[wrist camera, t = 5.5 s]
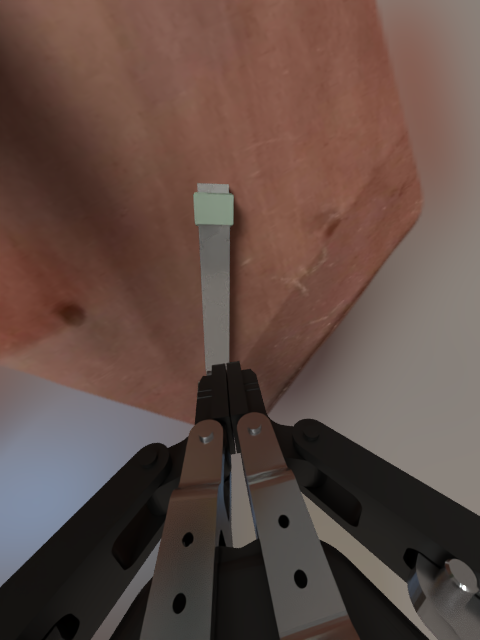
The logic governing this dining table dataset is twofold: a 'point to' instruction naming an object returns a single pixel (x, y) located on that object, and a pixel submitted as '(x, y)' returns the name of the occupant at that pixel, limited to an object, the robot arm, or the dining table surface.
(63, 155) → the dining table surface
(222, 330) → the bar
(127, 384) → the dining table surface
